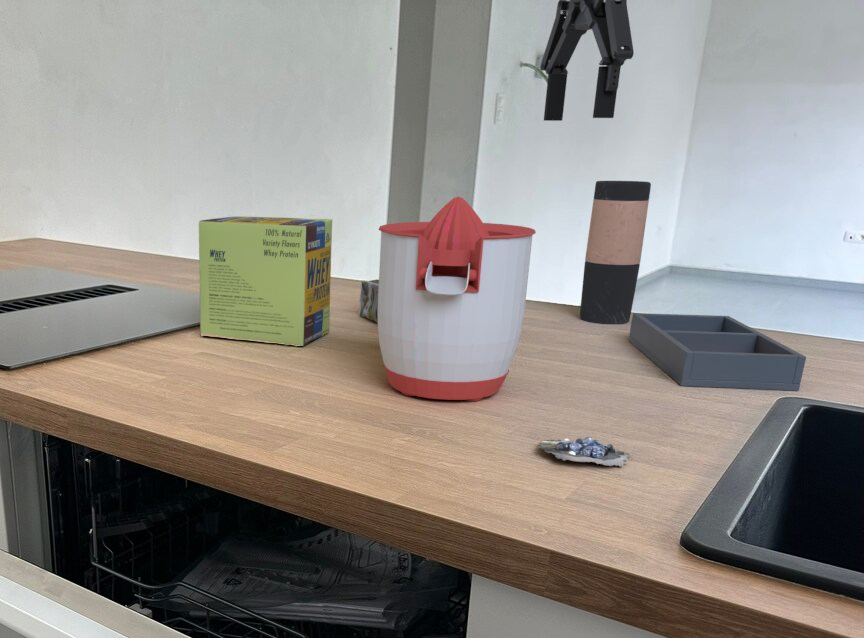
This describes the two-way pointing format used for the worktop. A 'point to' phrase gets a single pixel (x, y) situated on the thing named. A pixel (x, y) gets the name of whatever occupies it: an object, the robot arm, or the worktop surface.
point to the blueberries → (585, 451)
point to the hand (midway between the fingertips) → (576, 119)
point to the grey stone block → (369, 300)
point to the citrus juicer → (451, 303)
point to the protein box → (265, 278)
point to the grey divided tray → (716, 352)
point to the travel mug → (614, 250)
